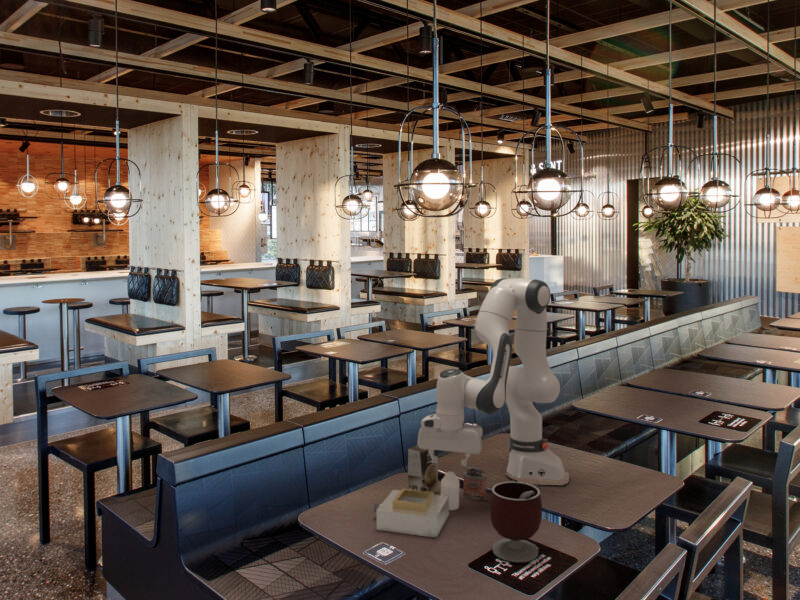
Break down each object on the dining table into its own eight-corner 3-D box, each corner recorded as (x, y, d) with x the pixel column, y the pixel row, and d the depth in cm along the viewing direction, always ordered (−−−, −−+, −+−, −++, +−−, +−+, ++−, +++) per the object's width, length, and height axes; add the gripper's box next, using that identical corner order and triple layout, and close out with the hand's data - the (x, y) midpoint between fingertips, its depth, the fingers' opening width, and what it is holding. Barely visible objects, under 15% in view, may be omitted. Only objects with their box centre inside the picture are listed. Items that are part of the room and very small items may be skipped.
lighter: (461, 496, 212) (461, 467, 211) (465, 493, 215) (465, 464, 214) (484, 501, 208) (484, 471, 207) (487, 497, 211) (488, 468, 210)
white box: (448, 514, 198) (448, 489, 197) (436, 537, 183) (436, 510, 182) (384, 507, 204) (384, 482, 203) (367, 528, 189) (366, 502, 188)
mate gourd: (480, 544, 179) (480, 474, 177) (523, 535, 184) (524, 468, 182) (508, 570, 164) (509, 495, 162) (555, 561, 169) (556, 487, 167)
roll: (455, 466, 206) (462, 472, 201) (455, 502, 207) (462, 509, 202) (438, 468, 205) (444, 474, 199) (438, 504, 206) (444, 511, 200)
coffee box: (423, 500, 209) (423, 452, 208) (407, 495, 213) (407, 448, 212) (438, 491, 216) (438, 445, 215) (423, 487, 220) (423, 441, 219)
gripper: (484, 421, 201) (483, 464, 202) (421, 416, 207) (421, 457, 208) (480, 427, 195) (479, 471, 196) (416, 421, 201) (415, 464, 202)
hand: (449, 464), depth 202 cm, fingers open, 8 cm apart
